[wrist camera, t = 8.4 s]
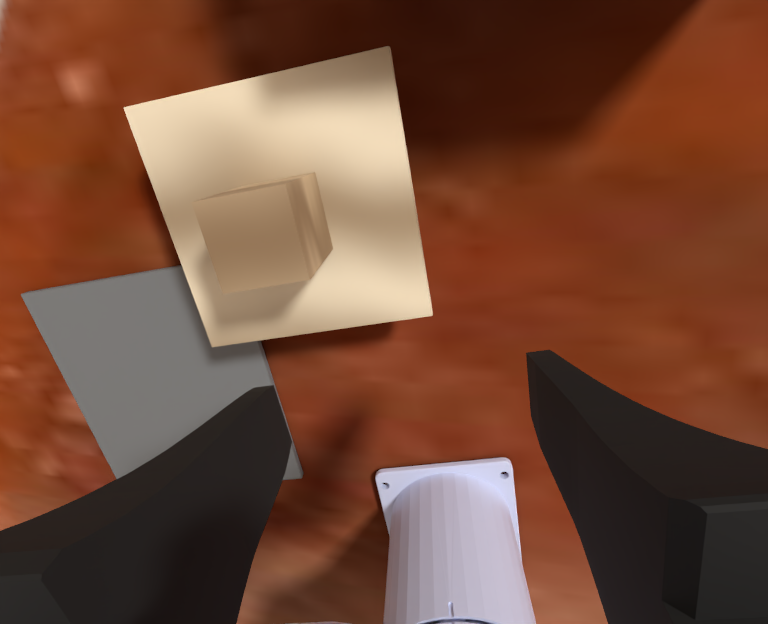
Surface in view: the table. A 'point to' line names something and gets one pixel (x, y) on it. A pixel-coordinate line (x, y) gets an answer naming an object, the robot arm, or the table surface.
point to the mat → (144, 362)
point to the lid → (290, 199)
